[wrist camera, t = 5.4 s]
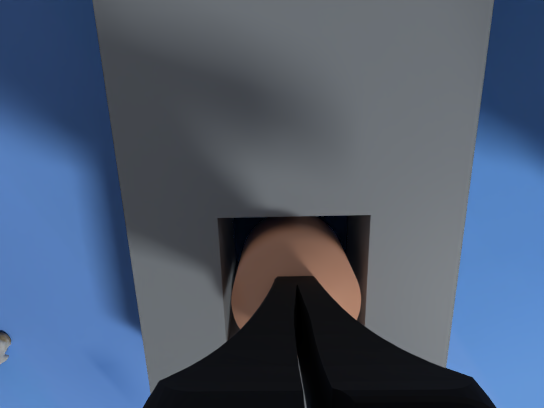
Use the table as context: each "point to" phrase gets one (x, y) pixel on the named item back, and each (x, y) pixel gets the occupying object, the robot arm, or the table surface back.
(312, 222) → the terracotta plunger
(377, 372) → the robot arm
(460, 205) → the block
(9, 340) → the bull figurine
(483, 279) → the table surface
